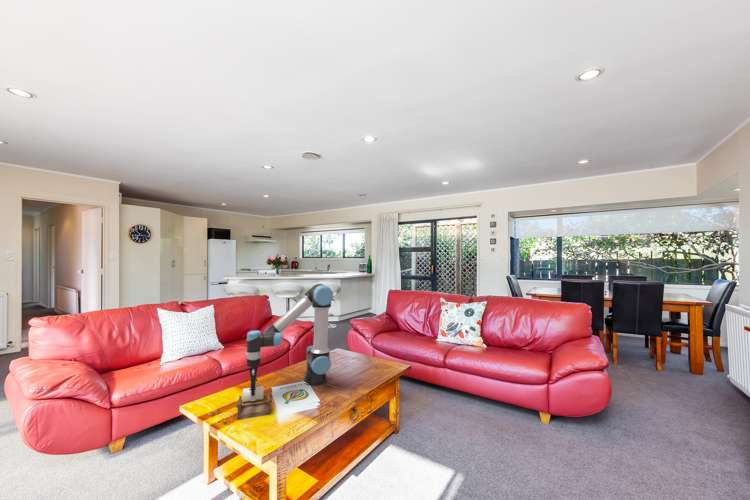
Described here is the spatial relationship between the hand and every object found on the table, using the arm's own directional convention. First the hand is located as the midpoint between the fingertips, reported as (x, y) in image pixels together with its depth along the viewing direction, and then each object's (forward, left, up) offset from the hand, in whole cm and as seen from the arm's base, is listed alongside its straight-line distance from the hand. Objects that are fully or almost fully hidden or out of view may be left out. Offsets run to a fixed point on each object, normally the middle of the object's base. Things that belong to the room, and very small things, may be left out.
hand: (253, 396), depth 183 cm
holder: (-1, +16, -1) cm, 16 cm away
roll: (0, +1, +2) cm, 3 cm away
